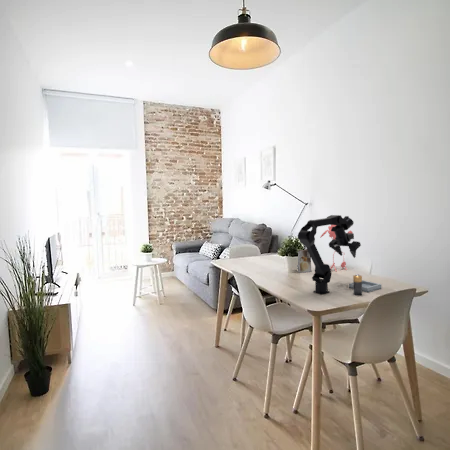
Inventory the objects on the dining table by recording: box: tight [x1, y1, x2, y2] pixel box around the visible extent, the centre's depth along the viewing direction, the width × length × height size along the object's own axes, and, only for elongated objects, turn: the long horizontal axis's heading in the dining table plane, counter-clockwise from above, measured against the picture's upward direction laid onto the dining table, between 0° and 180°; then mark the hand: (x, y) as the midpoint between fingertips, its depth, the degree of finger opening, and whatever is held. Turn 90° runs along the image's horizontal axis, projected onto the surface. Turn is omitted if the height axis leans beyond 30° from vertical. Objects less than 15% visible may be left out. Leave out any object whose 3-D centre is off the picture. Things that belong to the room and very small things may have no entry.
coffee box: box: [297, 248, 312, 274], centre depth 241 cm, size 9×6×16 cm
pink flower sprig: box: [319, 225, 354, 272], centre depth 244 cm, size 15×26×35 cm, turn 111°
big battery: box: [352, 273, 363, 296], centre depth 181 cm, size 4×4×11 cm
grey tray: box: [348, 279, 382, 293], centre depth 192 cm, size 12×12×2 cm
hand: (348, 256), depth 200 cm, fingers open, 9 cm apart
